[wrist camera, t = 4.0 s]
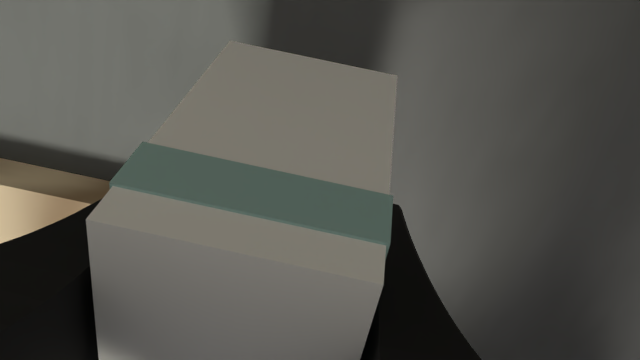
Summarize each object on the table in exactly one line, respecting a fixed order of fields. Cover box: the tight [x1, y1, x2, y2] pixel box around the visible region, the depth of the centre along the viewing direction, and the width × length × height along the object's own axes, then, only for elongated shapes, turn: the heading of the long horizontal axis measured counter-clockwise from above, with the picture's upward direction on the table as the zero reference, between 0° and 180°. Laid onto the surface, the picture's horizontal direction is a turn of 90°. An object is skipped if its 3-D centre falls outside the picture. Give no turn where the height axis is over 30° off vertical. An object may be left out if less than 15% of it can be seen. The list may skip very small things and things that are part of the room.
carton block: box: [86, 41, 397, 360], centre depth 12 cm, size 4×6×7 cm
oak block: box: [0, 158, 110, 244], centre depth 24 cm, size 9×9×2 cm
